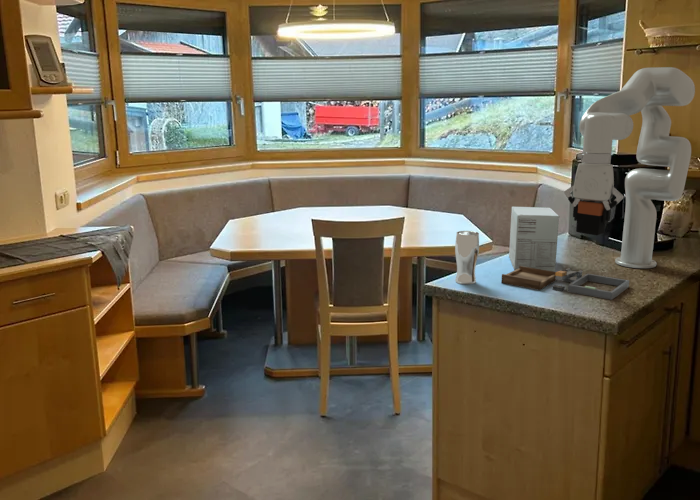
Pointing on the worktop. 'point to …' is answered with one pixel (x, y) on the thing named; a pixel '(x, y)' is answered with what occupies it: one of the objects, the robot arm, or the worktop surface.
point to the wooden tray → (529, 278)
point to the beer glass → (466, 256)
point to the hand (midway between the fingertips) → (590, 221)
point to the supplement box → (533, 238)
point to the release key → (565, 275)
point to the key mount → (568, 280)
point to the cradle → (592, 291)
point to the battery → (590, 217)
